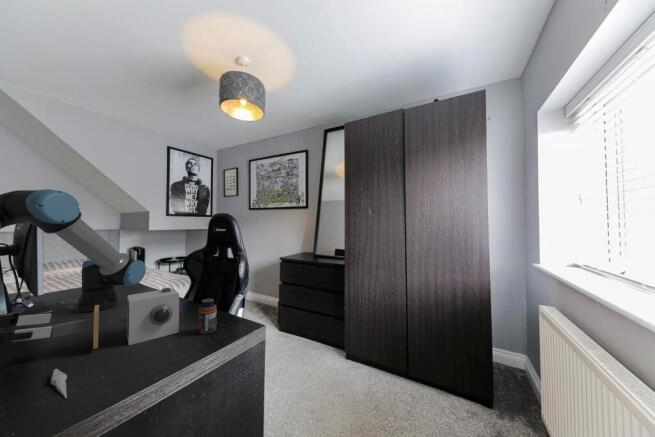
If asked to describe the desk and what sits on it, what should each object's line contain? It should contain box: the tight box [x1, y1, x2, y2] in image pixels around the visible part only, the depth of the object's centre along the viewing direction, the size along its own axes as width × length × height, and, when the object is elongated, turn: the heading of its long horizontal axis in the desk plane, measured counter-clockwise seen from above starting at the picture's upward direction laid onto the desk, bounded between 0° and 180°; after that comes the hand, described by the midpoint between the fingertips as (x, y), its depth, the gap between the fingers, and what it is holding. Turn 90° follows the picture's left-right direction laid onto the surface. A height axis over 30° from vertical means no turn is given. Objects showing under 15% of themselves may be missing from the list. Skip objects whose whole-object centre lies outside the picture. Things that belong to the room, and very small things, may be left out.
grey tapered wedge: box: [50, 368, 68, 399], centre depth 59 cm, size 15×3×2 cm, turn 55°
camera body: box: [126, 287, 180, 346], centre depth 86 cm, size 12×14×15 cm
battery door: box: [52, 305, 100, 350], centre depth 74 cm, size 8×10×11 cm
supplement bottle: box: [197, 298, 218, 335], centre depth 89 cm, size 6×6×11 cm
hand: (50, 324), depth 72 cm, fingers open, 13 cm apart
